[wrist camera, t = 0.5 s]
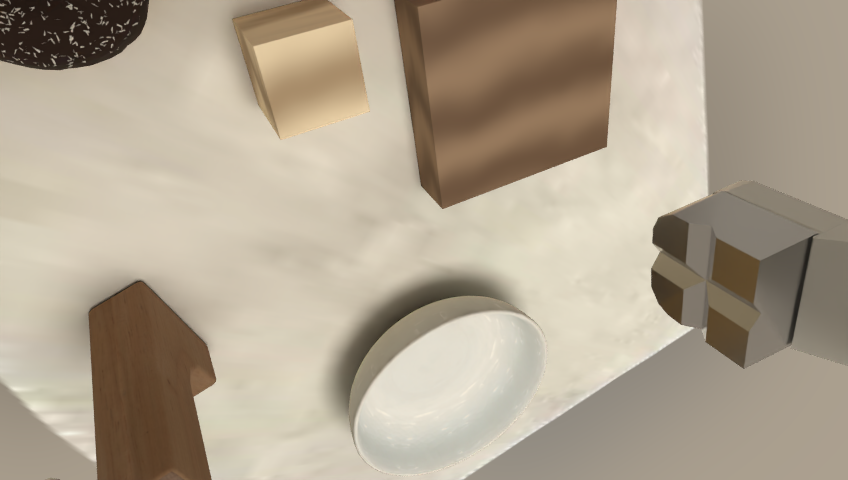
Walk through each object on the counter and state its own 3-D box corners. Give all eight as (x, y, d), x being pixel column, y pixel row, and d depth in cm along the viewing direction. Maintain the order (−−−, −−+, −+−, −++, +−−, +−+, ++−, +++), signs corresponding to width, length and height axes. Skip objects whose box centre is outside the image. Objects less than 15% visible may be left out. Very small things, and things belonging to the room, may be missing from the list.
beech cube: (231, 18, 40) (253, 46, 35) (321, -5, 41) (352, 19, 37) (258, 105, 43) (280, 140, 39) (339, 80, 45) (369, 111, 41)
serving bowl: (447, 433, 74) (475, 480, 69) (292, 417, 61) (313, 473, 56) (547, 294, 69) (586, 334, 63) (399, 244, 56) (433, 289, 51)
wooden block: (209, 345, 52) (259, 532, 39) (161, 375, 52) (195, 575, 39) (140, 277, 46) (173, 470, 33) (85, 310, 46) (96, 520, 33)
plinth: (393, -8, 43) (417, 7, 40) (585, -59, 48) (620, -50, 45) (421, 186, 53) (442, 209, 50) (578, 128, 57) (606, 146, 55)
